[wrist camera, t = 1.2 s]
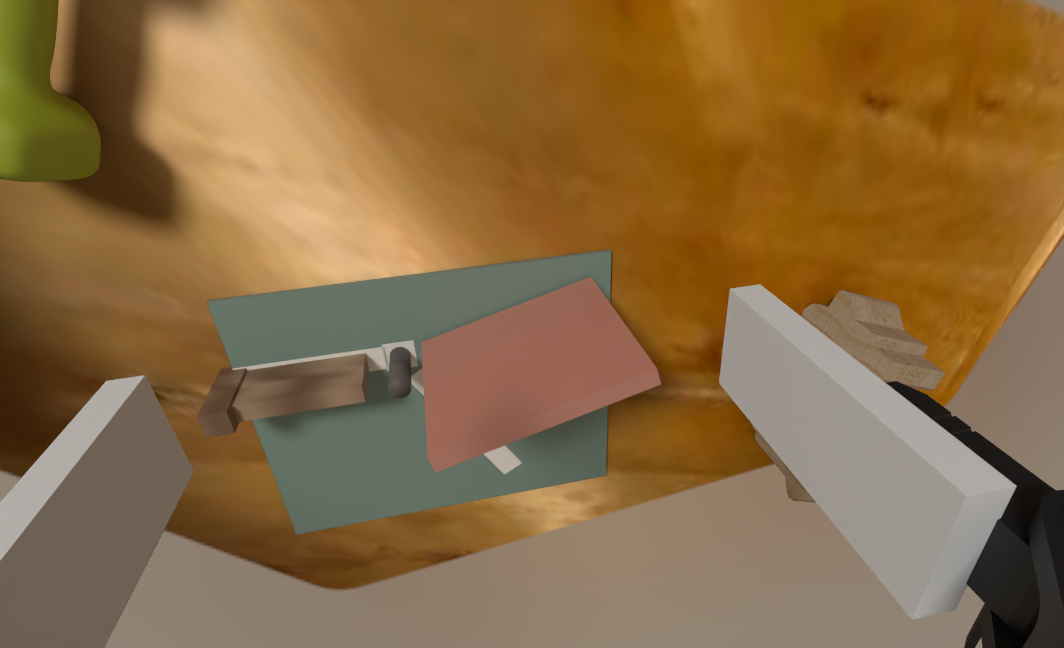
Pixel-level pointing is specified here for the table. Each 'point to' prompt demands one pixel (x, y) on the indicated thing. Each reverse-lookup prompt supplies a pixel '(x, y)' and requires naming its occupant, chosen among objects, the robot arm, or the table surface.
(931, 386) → the toy train
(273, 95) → the table surface
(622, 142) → the table surface
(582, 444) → the card
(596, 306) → the gate panel
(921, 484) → the robot arm
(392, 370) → the fence wall
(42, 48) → the dumbbell
